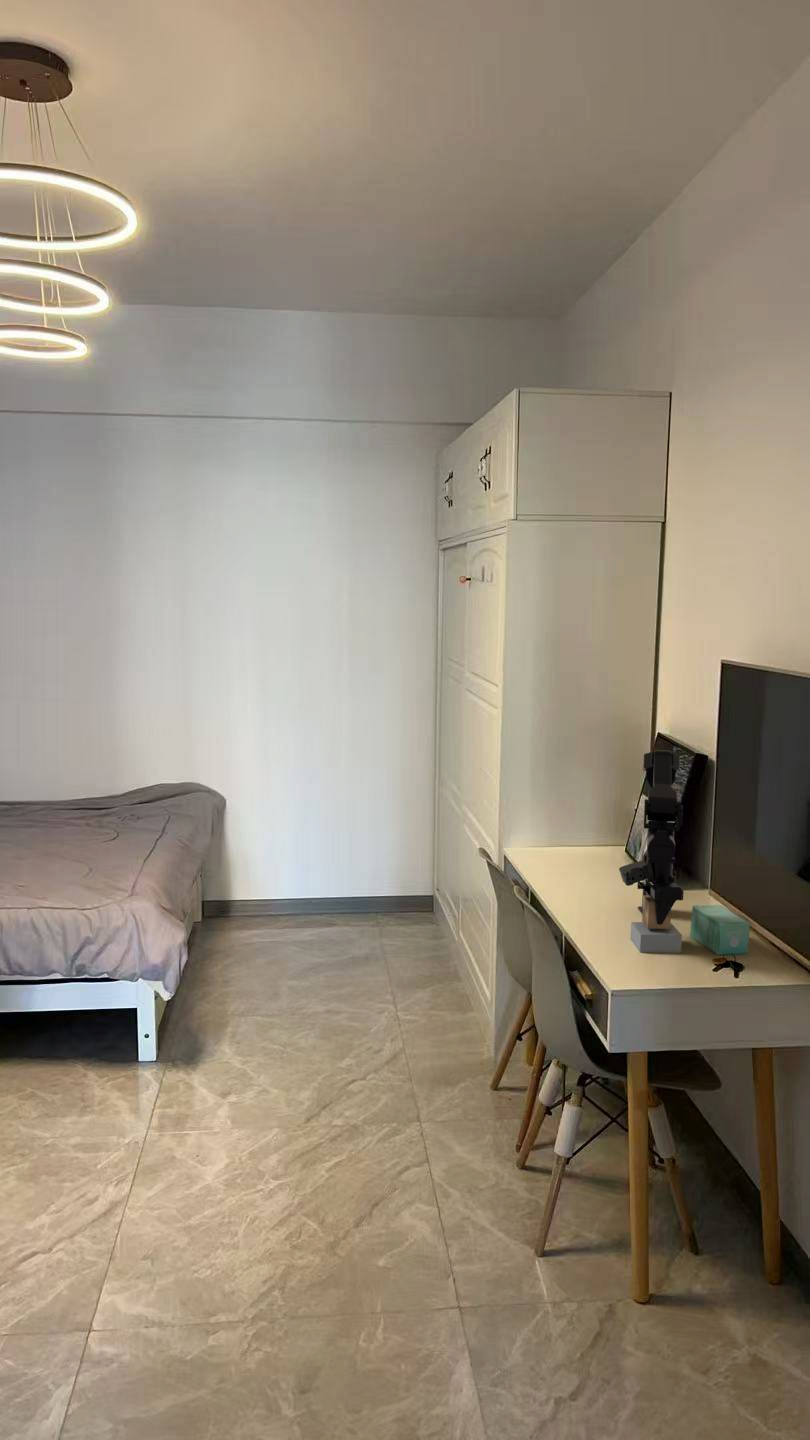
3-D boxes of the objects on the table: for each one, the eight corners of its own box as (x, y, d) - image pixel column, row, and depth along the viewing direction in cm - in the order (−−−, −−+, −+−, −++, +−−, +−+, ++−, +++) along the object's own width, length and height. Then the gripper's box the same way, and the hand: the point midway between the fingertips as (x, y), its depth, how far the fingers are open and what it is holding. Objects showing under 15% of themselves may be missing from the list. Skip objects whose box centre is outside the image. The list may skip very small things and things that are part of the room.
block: (642, 921, 242) (643, 895, 241) (664, 921, 242) (665, 895, 242) (647, 928, 237) (648, 901, 236) (670, 928, 237) (671, 902, 237)
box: (717, 956, 235) (720, 922, 234) (689, 936, 248) (691, 905, 247) (748, 954, 236) (751, 921, 235) (718, 935, 249) (720, 904, 248)
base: (630, 939, 245) (631, 921, 244) (669, 939, 245) (670, 922, 244) (640, 952, 236) (640, 934, 235) (681, 952, 236) (681, 935, 235)
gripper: (614, 841, 247) (611, 907, 249) (633, 861, 228) (630, 933, 230) (662, 841, 247) (659, 908, 249) (685, 862, 229) (682, 934, 230)
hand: (656, 920), depth 240 cm, fingers closed on block, 5 cm apart
